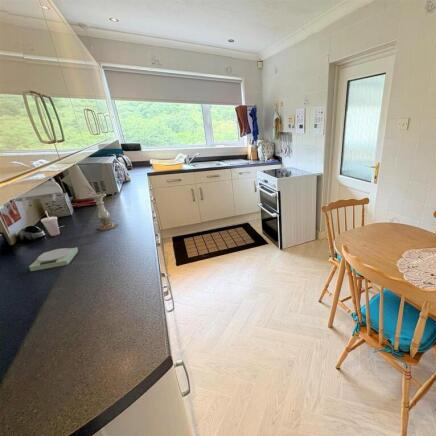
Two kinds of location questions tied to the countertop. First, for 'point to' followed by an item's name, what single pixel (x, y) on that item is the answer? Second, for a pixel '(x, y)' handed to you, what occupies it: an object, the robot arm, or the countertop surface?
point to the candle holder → (103, 212)
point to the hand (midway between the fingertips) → (42, 203)
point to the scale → (54, 258)
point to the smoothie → (51, 225)
